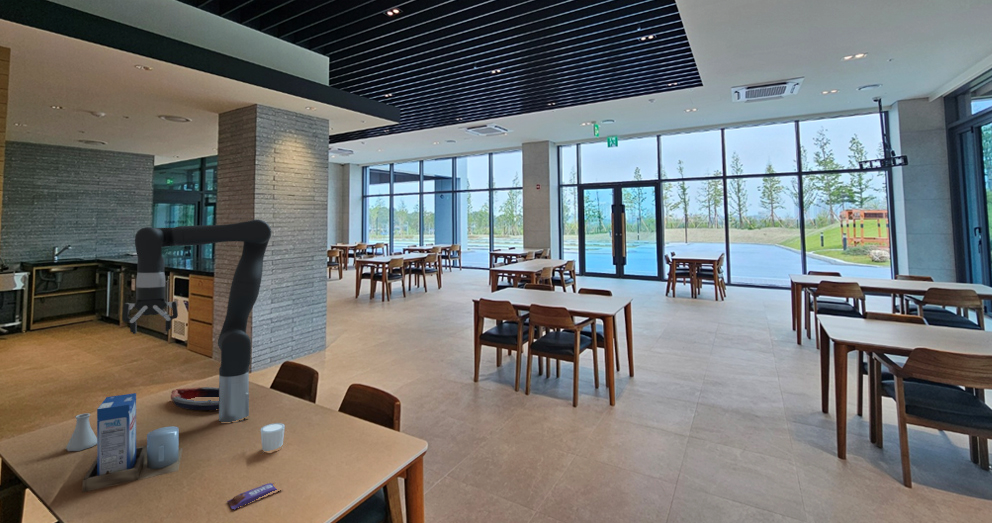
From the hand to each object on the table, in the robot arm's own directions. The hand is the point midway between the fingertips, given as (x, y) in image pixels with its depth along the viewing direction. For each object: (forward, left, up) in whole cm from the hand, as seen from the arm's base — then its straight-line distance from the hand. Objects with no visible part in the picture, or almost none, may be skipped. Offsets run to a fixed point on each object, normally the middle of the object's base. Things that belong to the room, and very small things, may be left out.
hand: (151, 332), depth 137 cm
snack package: (-28, +61, -35) cm, 76 cm away
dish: (-14, -18, -35) cm, 41 cm away
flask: (+16, +4, -34) cm, 38 cm away
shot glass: (-34, +36, -34) cm, 60 cm away
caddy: (-1, +32, -34) cm, 47 cm away
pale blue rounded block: (-6, +32, -33) cm, 46 cm away
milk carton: (+3, +32, -33) cm, 46 cm away
